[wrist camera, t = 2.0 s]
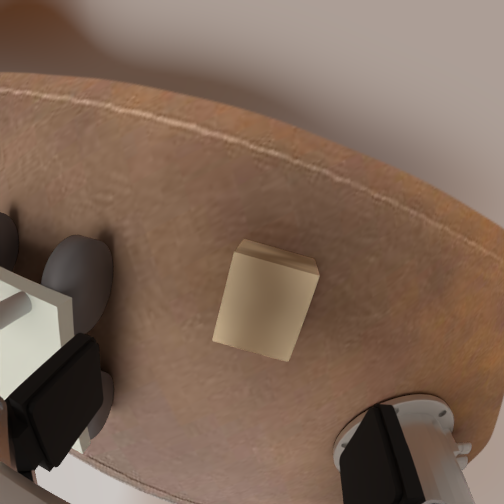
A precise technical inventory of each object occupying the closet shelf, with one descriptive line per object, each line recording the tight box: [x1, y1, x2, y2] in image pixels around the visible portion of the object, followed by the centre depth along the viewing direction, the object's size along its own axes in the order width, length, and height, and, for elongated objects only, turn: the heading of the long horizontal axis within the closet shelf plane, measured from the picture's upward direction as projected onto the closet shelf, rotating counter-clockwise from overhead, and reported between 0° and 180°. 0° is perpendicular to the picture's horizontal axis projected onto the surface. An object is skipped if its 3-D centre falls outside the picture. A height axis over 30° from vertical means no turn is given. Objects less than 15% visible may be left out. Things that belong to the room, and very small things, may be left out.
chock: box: [212, 239, 320, 362], centre depth 20 cm, size 5×6×4 cm
